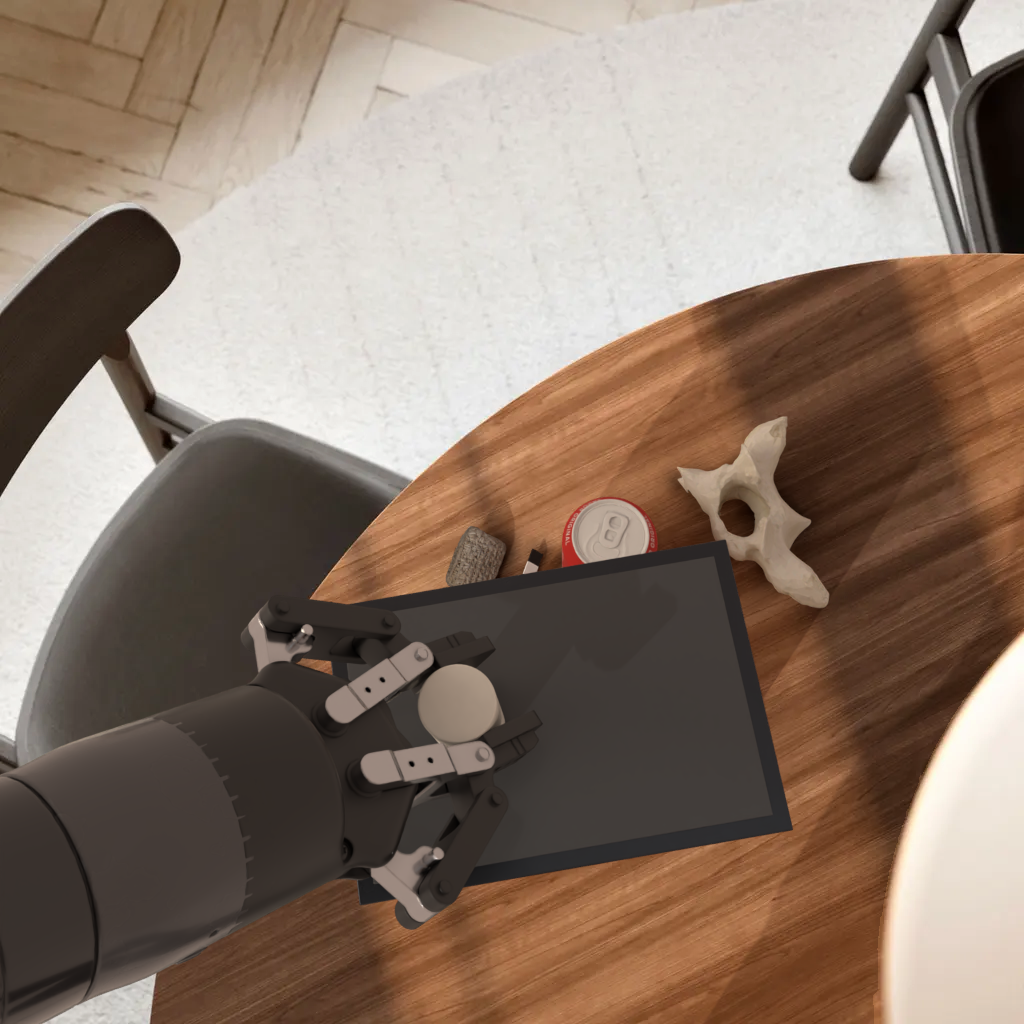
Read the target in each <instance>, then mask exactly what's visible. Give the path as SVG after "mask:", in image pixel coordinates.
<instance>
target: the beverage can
mask: <svg viewBox="0 0 1024 1024" xmlns="http://www.w3.org/2000/svg"><path fill="white" fill-rule="evenodd" d="M658 542H659V541H658V533H657V530H656V526H655V524H654V523H653V521H652V519H651V517H650V516H649V515H648V514H647V513H646V511H645V510H644V509H643V508H642V507H640V506H639V505H637V504H636V503H634V502H632V501H630V500H628V499H625V498H622V497H617V496H602V497H601V496H600V497H597V498H594V499H591V500H588V501H587V502H584V503H582V504H581V505H580V506H579V507H578V508H576V509H575V510H574V511H573V512H572V514H570V516H569V517H568V519H567V521H566V522H565V525H564V527H563V532H562V537H561V567H567V566H573V565H579V564H585V563H591V562H596V561H602V560H608V559H614V558H620V557H625V556H631V555H637V554H643V553H649V552H655V551H658V545H659V544H658Z"/></svg>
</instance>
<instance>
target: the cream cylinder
mask: <svg viewBox="0 0 1024 1024" xmlns="http://www.w3.org/2000/svg"><path fill="white" fill-rule="evenodd" d="M418 712H419V716H420V719H421V722H422V724H423V725H424V727H425V728H426V730H427V731H428V732H429V733H430V734H431V735H432V736H433V737H434V738H435V739H436V741H437V742H438V743H445V744H446V746H452V745H458V744H463V743H469V742H474V741H476V740H477V739H478V738H479V737H481V736H482V735H483V734H484V733H485V732H487V731H489V730H491V729H493V728H495V727H498V726H500V725H502V724H504V723H505V718H504V715H503V712H502V710H501V707H500V704H499V701H498V698H497V696H496V693H495V690H494V687H493V685H492V684H491V682H490V681H489V679H488V678H487V677H486V676H485V675H484V674H483V673H482V672H481V671H479V670H477V669H476V668H473V667H471V666H468V665H462V664H454V665H448V666H445V667H442V668H440V669H438V670H437V671H435V672H434V673H433V674H431V675H430V676H429V677H428V679H427V680H426V681H425V683H424V684H423V686H422V688H421V690H420V693H419V697H418Z"/></svg>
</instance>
